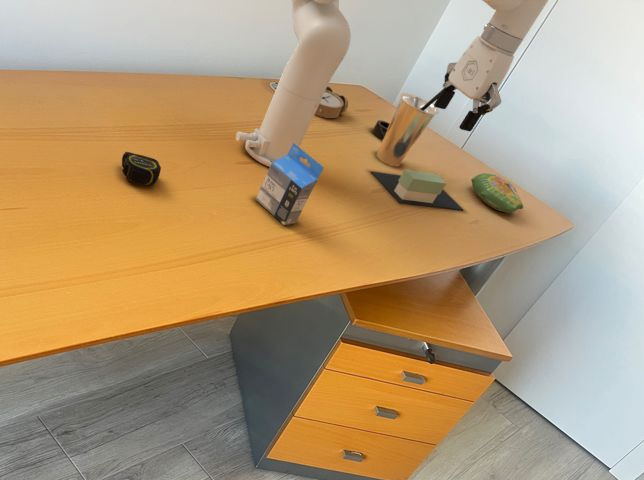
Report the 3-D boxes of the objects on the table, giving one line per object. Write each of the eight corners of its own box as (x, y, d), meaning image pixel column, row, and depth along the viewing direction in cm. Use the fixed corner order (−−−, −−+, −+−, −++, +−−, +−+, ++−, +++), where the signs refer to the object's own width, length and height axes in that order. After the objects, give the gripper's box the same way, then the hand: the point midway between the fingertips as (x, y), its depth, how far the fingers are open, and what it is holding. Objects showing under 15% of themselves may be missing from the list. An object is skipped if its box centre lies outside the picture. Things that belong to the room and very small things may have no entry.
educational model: (477, 210, 170) (490, 191, 167) (460, 180, 182) (472, 161, 179) (522, 225, 172) (536, 207, 169) (502, 194, 184) (515, 176, 181)
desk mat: (399, 202, 158) (399, 201, 158) (370, 172, 167) (371, 171, 166) (462, 210, 167) (463, 209, 167) (432, 181, 175) (433, 180, 175)
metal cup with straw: (412, 178, 172) (482, 59, 153) (370, 161, 172) (435, 40, 153) (409, 161, 181) (476, 46, 162) (369, 145, 180) (431, 28, 161)
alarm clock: (295, 89, 185) (328, 77, 193) (289, 106, 189) (322, 94, 197) (327, 110, 181) (360, 97, 189) (321, 127, 184) (353, 113, 193)
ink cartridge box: (253, 199, 136) (279, 142, 129) (267, 198, 139) (293, 141, 131) (283, 226, 132) (311, 168, 124) (296, 223, 134) (325, 167, 127)
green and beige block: (401, 199, 159) (413, 178, 156) (392, 190, 162) (404, 169, 158) (433, 203, 163) (446, 183, 160) (424, 194, 166) (437, 174, 163)
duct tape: (362, 131, 186) (368, 121, 185) (376, 126, 194) (381, 116, 192) (387, 145, 184) (392, 135, 182) (400, 139, 191) (405, 129, 190)
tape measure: (155, 174, 131) (160, 156, 129) (156, 193, 126) (163, 174, 124) (119, 165, 129) (125, 147, 127) (120, 184, 124) (125, 165, 122)
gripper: (462, 18, 143) (417, 96, 154) (514, 54, 132) (462, 136, 143) (487, 26, 147) (442, 102, 157) (540, 62, 136) (487, 141, 146)
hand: (451, 118), depth 150 cm, fingers open, 9 cm apart
